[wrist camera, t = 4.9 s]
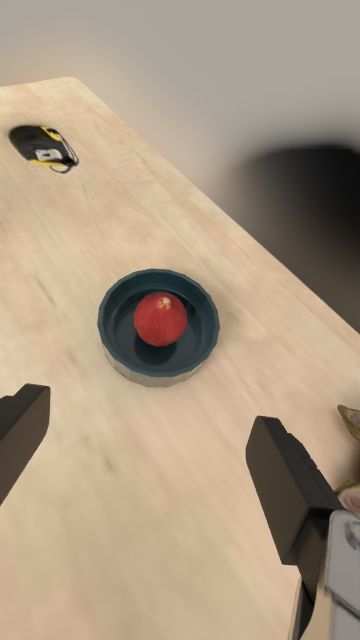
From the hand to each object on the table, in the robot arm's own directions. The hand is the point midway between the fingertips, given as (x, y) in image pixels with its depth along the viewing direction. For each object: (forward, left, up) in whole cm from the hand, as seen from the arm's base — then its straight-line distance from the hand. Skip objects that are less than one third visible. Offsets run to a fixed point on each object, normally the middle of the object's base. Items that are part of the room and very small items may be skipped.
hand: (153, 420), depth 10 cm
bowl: (-8, +8, -18) cm, 21 cm away
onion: (-8, +8, -18) cm, 21 cm away
